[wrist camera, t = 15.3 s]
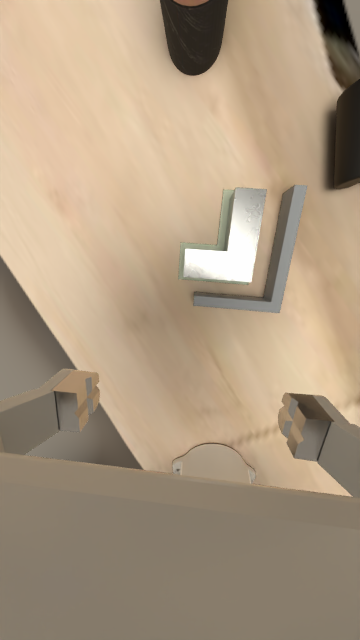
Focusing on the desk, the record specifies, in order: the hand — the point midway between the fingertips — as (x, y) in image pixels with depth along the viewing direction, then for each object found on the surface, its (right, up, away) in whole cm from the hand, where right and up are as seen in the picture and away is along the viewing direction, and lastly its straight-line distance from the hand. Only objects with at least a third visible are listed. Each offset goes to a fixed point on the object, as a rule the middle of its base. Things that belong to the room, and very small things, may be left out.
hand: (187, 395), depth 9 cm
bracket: (+6, +16, +25) cm, 30 cm away
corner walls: (+9, +15, +25) cm, 31 cm away
